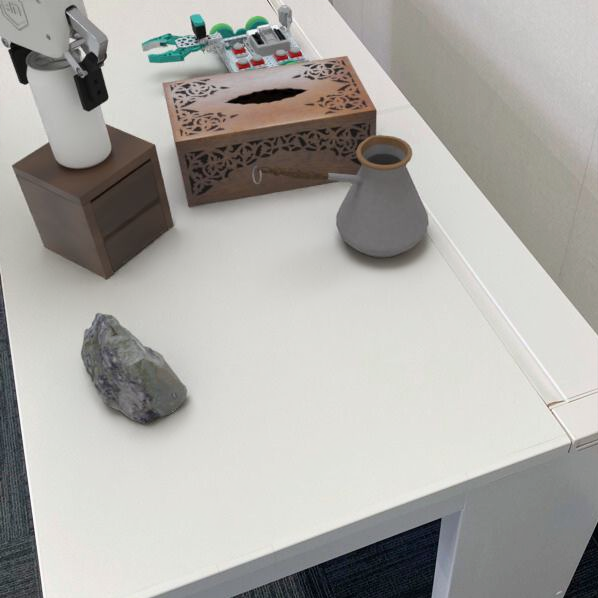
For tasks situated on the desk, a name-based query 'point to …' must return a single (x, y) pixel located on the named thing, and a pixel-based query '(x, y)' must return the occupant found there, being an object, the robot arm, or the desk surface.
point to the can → (66, 113)
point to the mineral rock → (129, 372)
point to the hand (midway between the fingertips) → (64, 91)
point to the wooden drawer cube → (97, 202)
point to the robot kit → (235, 43)
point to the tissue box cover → (267, 127)
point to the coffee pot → (374, 198)
